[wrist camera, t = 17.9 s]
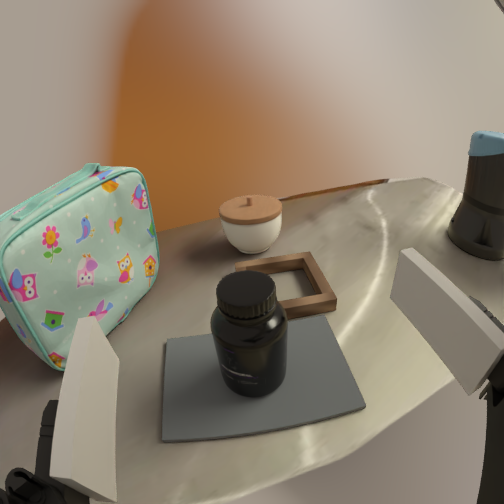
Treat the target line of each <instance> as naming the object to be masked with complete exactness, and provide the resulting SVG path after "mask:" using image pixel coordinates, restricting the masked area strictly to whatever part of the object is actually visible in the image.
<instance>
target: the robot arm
mask: <svg viewBox="0 0 504 504" xmlns="http://www.w3.org/2000/svg"><path fill="white" fill-rule="evenodd" d="M495 2H496V4H497V5H498V7H499V8H500V9H501V11H502V12H503V13H504V0H495ZM468 155H469V161H468V168H467V175H466V181H465V187H464V193H463V198H462V201H461V203H460V205H459V206H458V208H457V210H456V212H455V214H454V216H453V218H452V219H451V221H450V224H449V229H448V235H449V237H450V239H451V240H452V241H453V242H454V243H455V244H456V245H457V246H458V247H460V248H461V249H463V250H464V251H466V252H468V253H470V254H472V255H474V256H477V257H480V258H484V259H488V260H500V259H503V258H504V133H499V132H491V131H477V132H475V133H473V135H472V137H471V143H470V150H469V152H468ZM390 298H391V300H392V301H393V302H394V303H395V304H396V305H397V306H398V308H399V309H400V310H401V311H402V312H403V313H404V315H405V316H406V317H407V318H408V319H409V320H410V322H411V323H412V324H413V325H414V326H415V328H416V329H417V330H418V331H419V332H420V334H421V335H422V336H423V337H424V339H425V340H426V341H427V342H428V343H429V345H430V346H431V347H432V348H433V350H434V351H435V352H436V353H437V355H438V356H439V357H440V358H441V360H442V361H443V362H444V364H445V365H446V366H447V367H448V369H449V370H450V371H451V373H452V374H453V375H454V377H455V378H456V379H457V380H458V382H459V383H460V385H461V386H462V387H463V389H464V390H465V391H466V393H467V394H468V395H471V394H472V393H473V392H475V391H476V390H477V389H479V388H480V387H481V386H482V384H483V383H484V382H485V380H486V379H488V380H489V381H490V382H489V383H488V384H487V385H486V387H485V388H484V389H483V391H482V392H481V393H480V396H479V399H481V398H482V397H483V396H484V395H485V394H486V392H487V395H486V396H485V398H484V399H485V400H487V429H486V443H485V454H484V462H483V470H482V477H481V483H480V489H479V494H478V499H477V504H504V326H503V324H502V323H501V322H500V321H499V320H498V319H497V318H496V317H493V314H492V313H491V312H490V311H488V310H487V308H486V307H485V306H484V305H483V304H482V303H481V302H480V301H478V300H476V299H474V298H472V297H471V296H469V297H467V296H466V295H465V294H464V293H463V292H462V291H461V290H460V289H459V288H458V287H457V286H456V285H455V284H454V283H452V282H451V281H450V280H449V279H448V278H447V277H446V276H445V275H444V274H443V273H441V272H440V271H439V270H438V269H437V268H436V267H435V266H434V265H432V264H431V263H430V262H429V261H428V260H427V259H425V258H424V257H423V256H422V255H421V254H420V253H418V252H417V251H416V250H415V249H414V248H412V247H411V248H408V249H404V250H400V253H399V258H398V263H397V268H396V273H395V277H394V282H393V286H392V290H391V295H390ZM119 361H120V360H119V359H118V357H117V355H116V354H115V352H114V350H113V349H112V347H111V345H110V343H109V342H108V340H107V338H106V336H105V335H104V333H103V331H102V329H101V327H100V325H99V323H98V322H97V320H96V318H95V316H90V317H84V318H78V321H77V325H76V328H75V332H74V335H73V339H72V343H71V347H70V351H69V355H68V359H67V363H66V367H65V372H64V376H63V381H62V386H61V391H60V396H59V400H50V401H49V402H48V404H47V406H46V408H45V410H44V411H43V416H42V422H41V426H42V427H41V428H40V434H39V435H40V437H39V441H38V449H37V457H36V467H35V475H34V474H32V473H31V472H29V471H27V470H25V469H24V468H15V469H13V470H11V471H10V472H9V474H8V475H7V478H6V481H5V489H6V491H4V490H2V489H1V488H0V504H90V503H89V497H90V498H92V499H94V500H96V501H100V502H117V490H116V465H115V429H116V402H117V385H118V372H119Z"/></svg>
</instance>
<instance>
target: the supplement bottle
mask: <svg viewBox="0 0 504 504" xmlns="http://www.w3.org/2000/svg"><path fill="white" fill-rule="evenodd" d="M216 295H217V305H218V306H217V307H216V309H215V310H214V312H213V314H212V317H211V331H212V336H213V340H214V345H215V349H216V353H217V357H218V361H219V366H220V370H221V374H222V377H223V380H224V382H225V384H226V385H227V387H228V388H229V389H230V390H232V391H233V392H234V393H236V394H238V395H241V396H244V397H251V398H255V397H262V396H265V395H268V394H270V393H272V392H274V391H275V390H276V389H278V388H279V387H280V385H281V384H282V383H283V381H284V379H285V375H286V367H287V338H288V318H287V314H286V311H285V309H284V307H283V306H282V305H281V304H280V302H278V301H277V297H276V286H275V283H274V281H273V279H272V278H270V276H268V275H266V274H265V273H262V272H258V271H253V270H244V271H238V272H234V273H231V274H229V275H227V276H226V277H224V278H222V280H221V281H220V282H219V284H218V285H217V288H216Z"/></svg>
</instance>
